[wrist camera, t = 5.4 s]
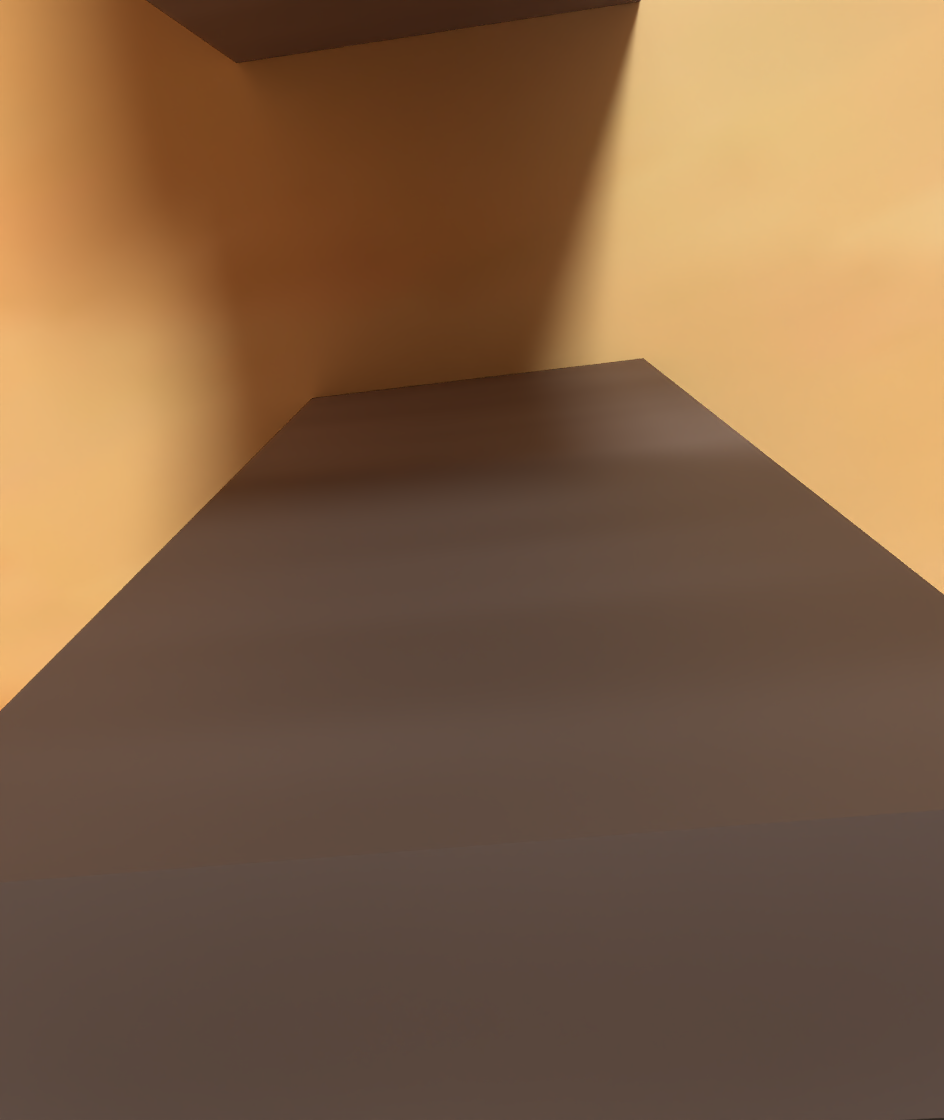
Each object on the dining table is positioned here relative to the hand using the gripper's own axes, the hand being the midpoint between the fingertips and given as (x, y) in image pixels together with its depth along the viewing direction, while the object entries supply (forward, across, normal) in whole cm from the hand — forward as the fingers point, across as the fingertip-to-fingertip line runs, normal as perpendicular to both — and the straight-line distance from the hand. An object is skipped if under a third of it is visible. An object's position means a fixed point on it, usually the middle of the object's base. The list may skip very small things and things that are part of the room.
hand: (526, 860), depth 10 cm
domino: (+2, 0, -6) cm, 6 cm away
